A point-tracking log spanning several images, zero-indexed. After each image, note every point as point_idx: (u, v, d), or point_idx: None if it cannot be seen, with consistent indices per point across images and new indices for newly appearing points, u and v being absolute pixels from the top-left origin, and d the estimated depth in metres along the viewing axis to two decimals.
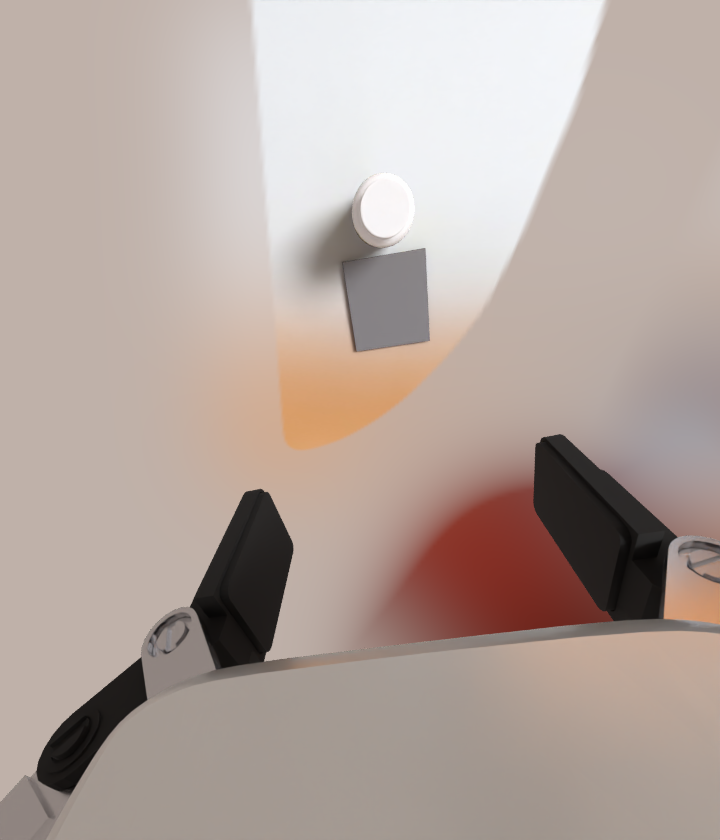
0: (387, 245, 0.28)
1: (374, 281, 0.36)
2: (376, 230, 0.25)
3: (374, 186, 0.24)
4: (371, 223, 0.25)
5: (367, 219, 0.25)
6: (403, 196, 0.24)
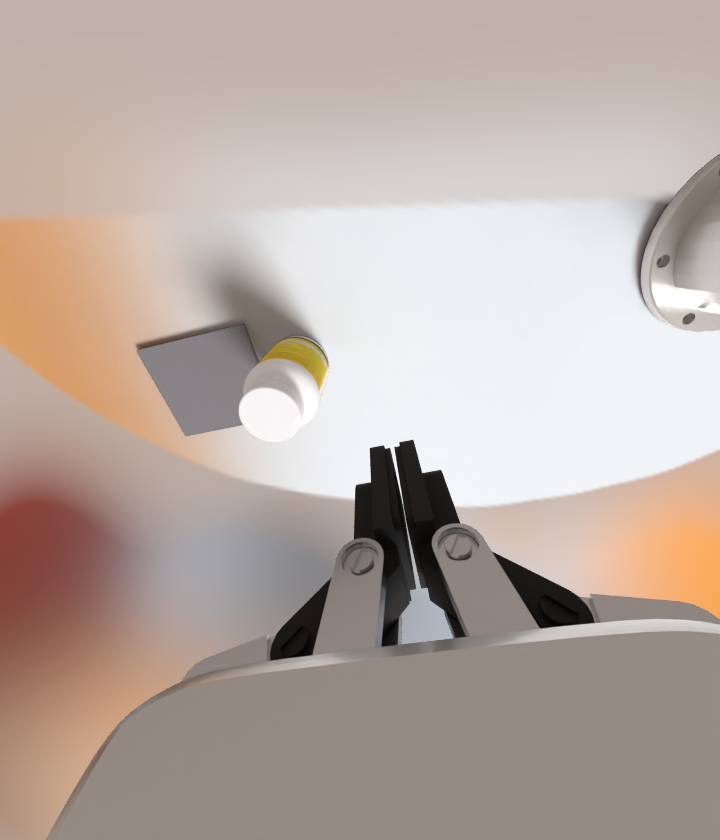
0: None
1: (231, 367, 0.28)
2: (244, 407, 0.20)
3: (288, 402, 0.20)
4: (250, 401, 0.20)
5: (253, 396, 0.19)
6: (285, 433, 0.21)
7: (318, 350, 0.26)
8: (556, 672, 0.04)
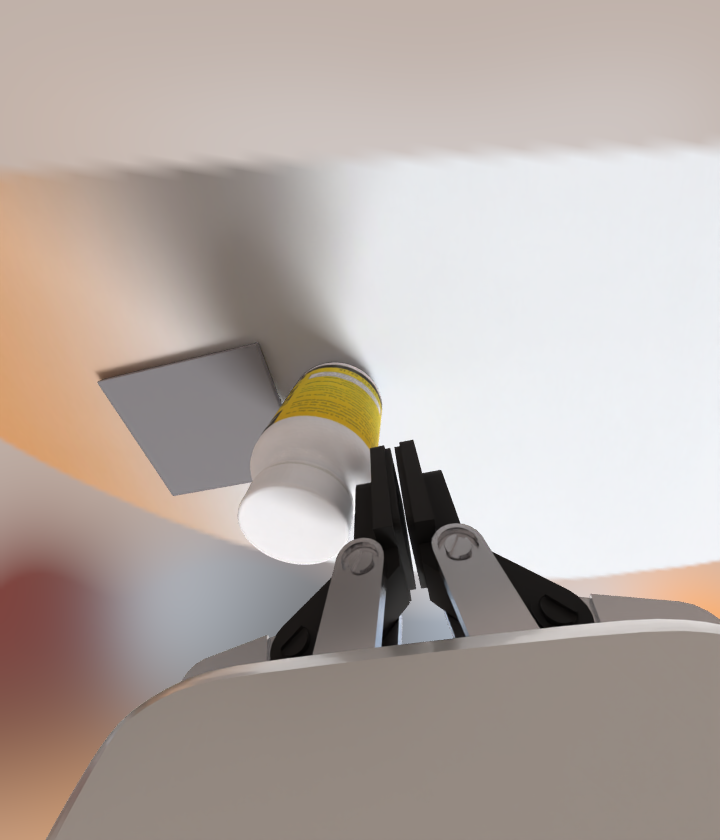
0: None
1: (238, 405, 0.19)
2: (248, 514, 0.11)
3: (329, 511, 0.10)
4: (258, 506, 0.11)
5: (264, 498, 0.10)
6: (320, 555, 0.12)
7: (369, 388, 0.17)
8: (556, 672, 0.04)
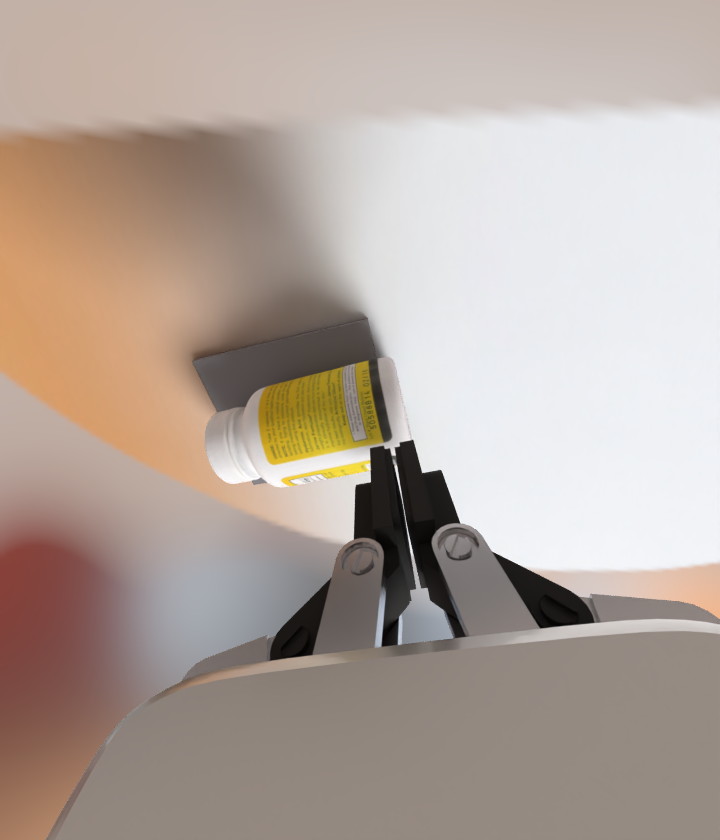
0: None
1: None
2: None
3: None
4: None
5: None
6: None
7: (361, 406, 0.13)
8: (556, 672, 0.04)
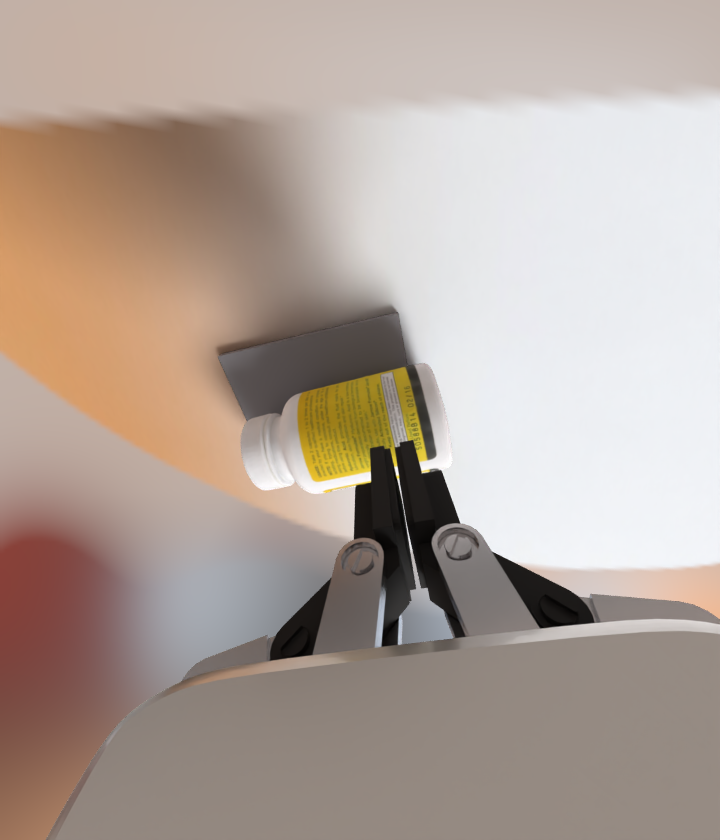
0: None
1: None
2: None
3: None
4: None
5: None
6: None
7: (407, 428, 0.13)
8: (556, 672, 0.04)
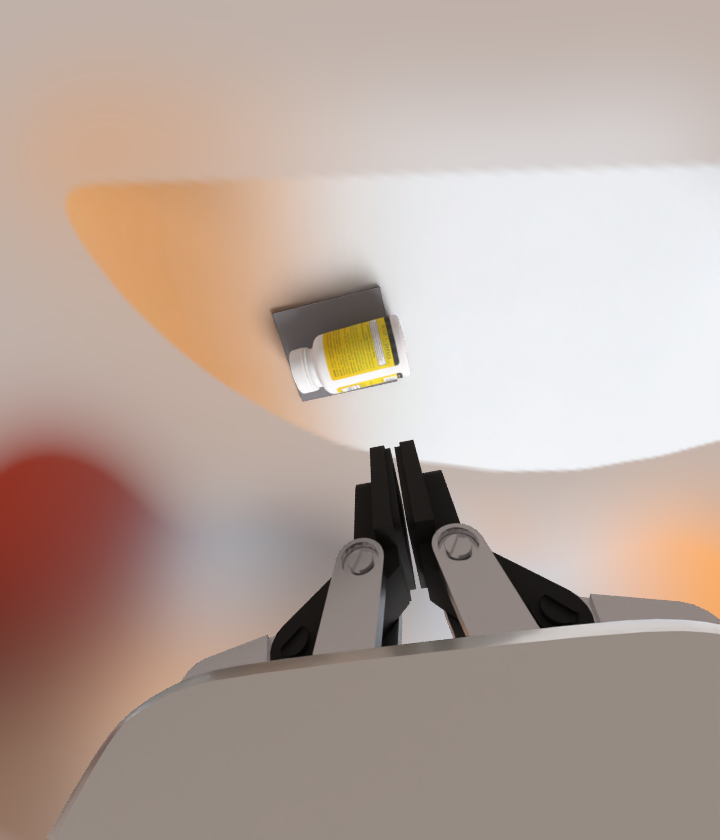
0: None
1: None
2: None
3: None
4: None
5: None
6: None
7: (383, 346, 0.25)
8: (556, 672, 0.04)
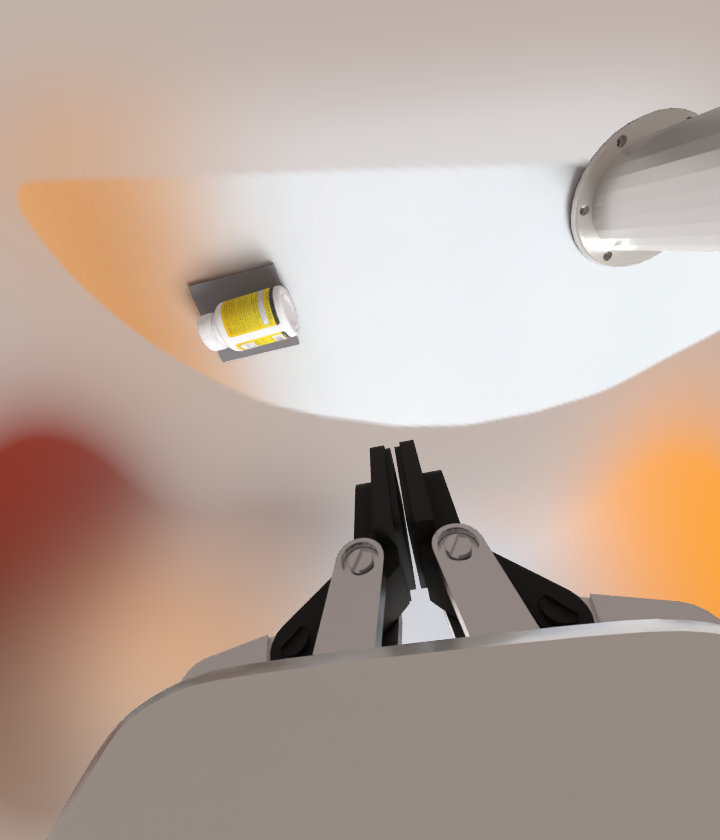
0: None
1: None
2: None
3: None
4: None
5: None
6: None
7: (265, 309, 0.32)
8: (556, 672, 0.04)
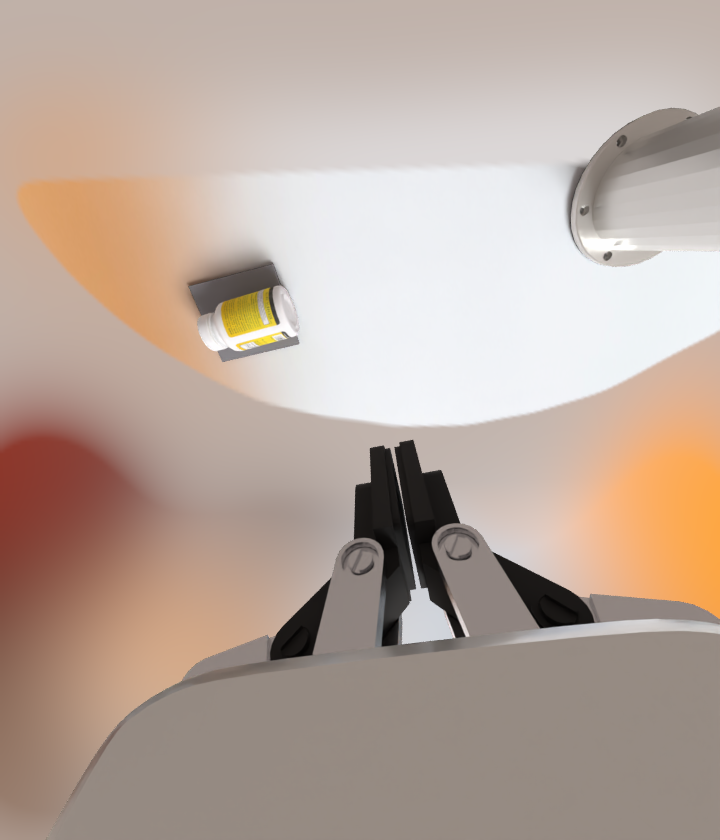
0: None
1: None
2: None
3: None
4: None
5: None
6: None
7: (265, 309, 0.32)
8: (556, 672, 0.04)
